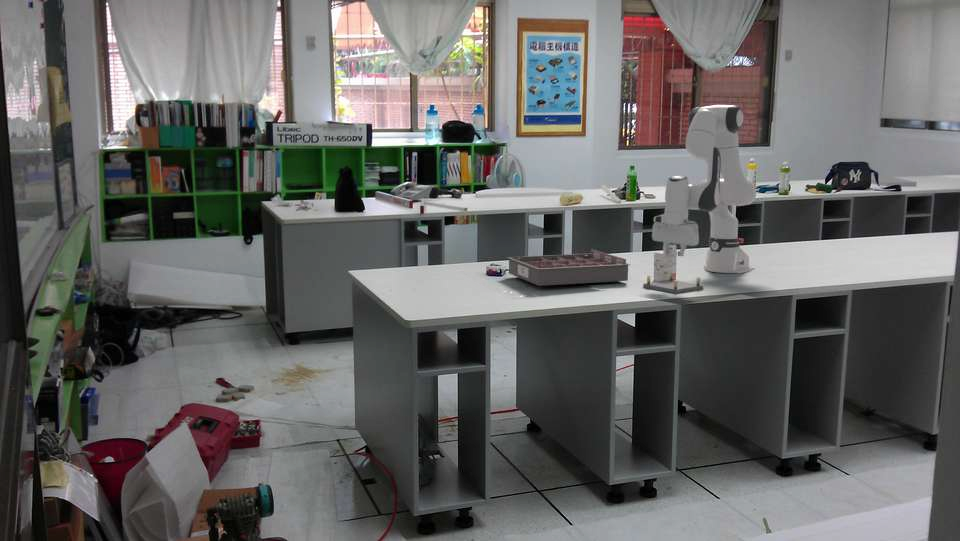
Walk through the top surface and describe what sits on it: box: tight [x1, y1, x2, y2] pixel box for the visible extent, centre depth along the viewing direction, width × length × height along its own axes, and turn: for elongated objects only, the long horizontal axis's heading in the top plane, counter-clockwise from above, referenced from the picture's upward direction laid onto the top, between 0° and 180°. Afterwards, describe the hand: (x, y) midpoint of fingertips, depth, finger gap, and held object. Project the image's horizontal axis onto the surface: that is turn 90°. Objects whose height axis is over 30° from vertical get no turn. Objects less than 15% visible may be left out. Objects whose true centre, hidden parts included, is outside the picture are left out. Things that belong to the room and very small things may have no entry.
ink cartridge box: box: [653, 244, 678, 282], centre depth 359 cm, size 9×5×15 cm, turn 129°
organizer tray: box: [506, 249, 631, 287], centre depth 359 cm, size 32×40×10 cm
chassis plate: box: [642, 273, 704, 295], centre depth 342 cm, size 16×16×4 cm
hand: (674, 255), depth 340 cm, fingers open, 5 cm apart
